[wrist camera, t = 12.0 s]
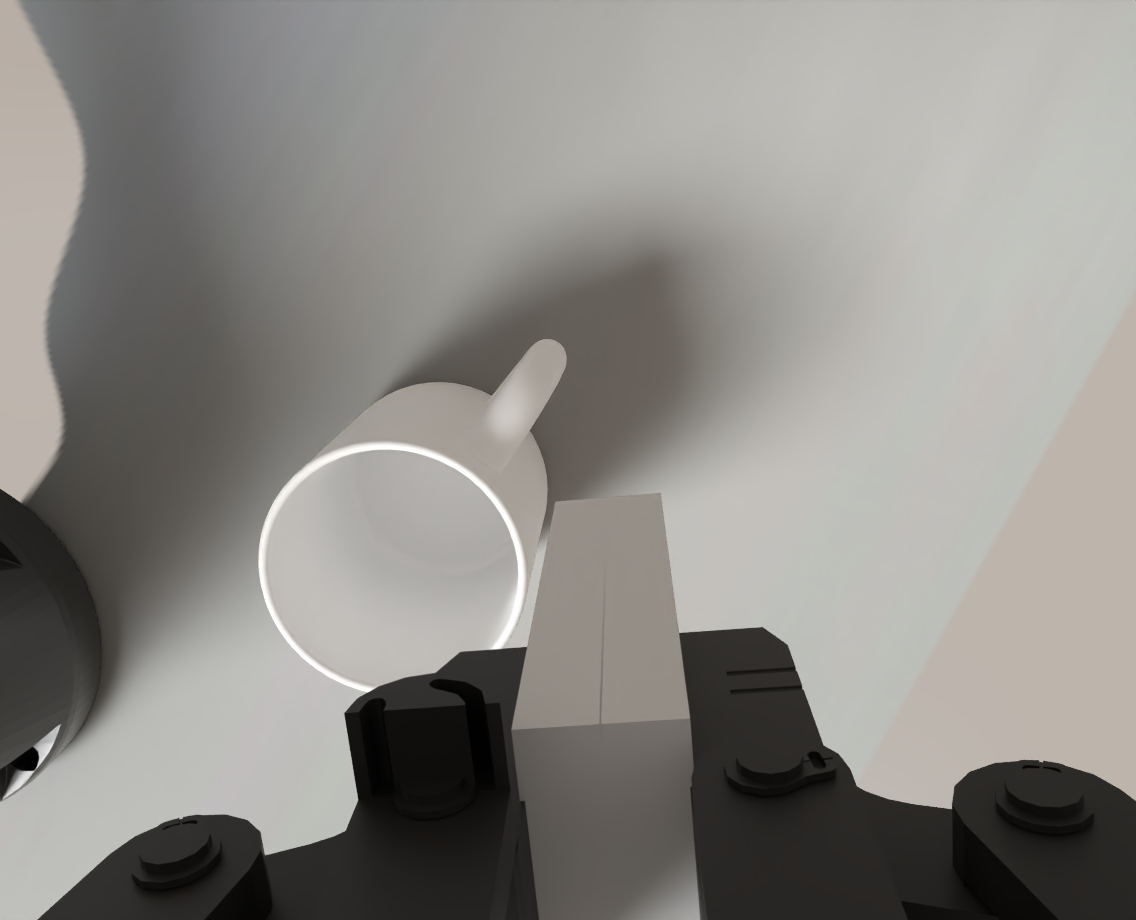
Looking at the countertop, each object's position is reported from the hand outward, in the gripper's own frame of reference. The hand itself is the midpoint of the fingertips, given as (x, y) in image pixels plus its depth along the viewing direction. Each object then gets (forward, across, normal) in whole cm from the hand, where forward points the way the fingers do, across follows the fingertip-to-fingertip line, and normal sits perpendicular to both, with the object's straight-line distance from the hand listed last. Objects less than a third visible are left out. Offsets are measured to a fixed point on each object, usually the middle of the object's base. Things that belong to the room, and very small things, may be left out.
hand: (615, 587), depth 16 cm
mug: (+27, -6, -4) cm, 28 cm away
